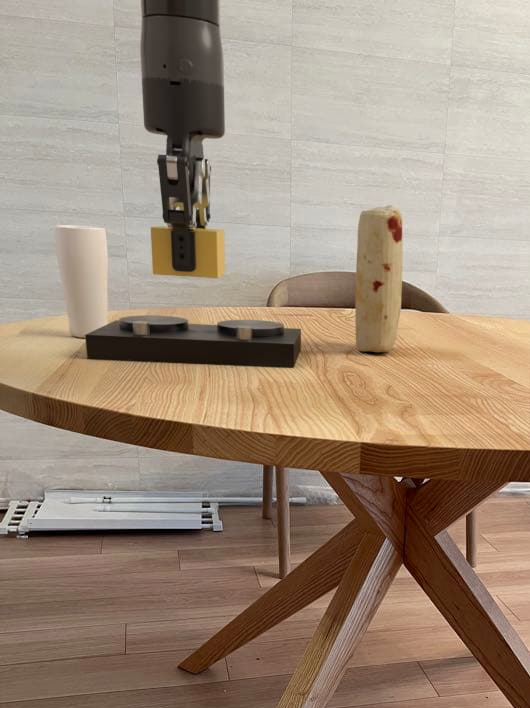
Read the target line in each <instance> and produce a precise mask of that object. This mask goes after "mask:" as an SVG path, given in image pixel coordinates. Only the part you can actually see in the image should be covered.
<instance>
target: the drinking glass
mask: <svg viewBox="0 0 530 708" xmlns="http://www.w3.org/2000/svg"><path fill="white" fill-rule="evenodd" d="M54 241H55V249H56V251H55V252H56V258H57V264H58V269H59V274H60V280H61V285H62V291H63V296H64V302H65V307H66V308H65V309H66V313H67V319H68V328H69V333H70V335H71V336H72V337H75V338H80V339H86V338H85V335H86V334H88V333H90V332H92V331H94V330H96V329H99V328H101V327H103V326H105V325H107V324H109V253H108V241H107V231H106V228H105V227H103V226H92V225H69V224H68V225H67V224H65V225H64V224H61V225H60V224H59V225H55V226H54Z"/></svg>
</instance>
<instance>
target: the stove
mask: <svg viewBox="0 0 530 708" xmlns="http://www.w3.org/2000/svg"><path fill="white" fill-rule="evenodd" d="M84 339H85V348H86V349H85V350H86V359H87V360H105V361H106V360H108V361H128V362H129V361H131V362H151V363H152V362H153V363H154V362H155V363H177V364H202V365H203V364H204V365H221V366H222V365H224V366H244V367H245V366H249V367H271V368H272V367H273V368H292V369H293V368H295V367H296V364H297V360H298V358H299V356H300V353H301V351H302V329H301V328H293V327H291V328H289V327H285V324H283V323H281V322H277V321H271V320H262V319H228V320H227V319H226V320H221V321H217V323H216V324H206V323H205V324H204V323H189V319H187V318H184V317H181V316H173V315H172V316H171V315H153V314H152V315H151V314H150V315H146V314H145V315H129V316H128V315H127V316H123V317H120V318H118V320H113V321H111V322H108V324H107V325H105V326H103V327H101V328H99V329H96V330H94V331H92V332H90V333H88V334H86V335H85V338H84Z"/></svg>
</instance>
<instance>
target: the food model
mask: <svg viewBox="0 0 530 708" xmlns="http://www.w3.org/2000/svg"><path fill="white" fill-rule="evenodd" d="M403 241H404V240H403V217H402V213H401V211H400V210H399V209H398V208H397V207H396V206H394V205H390V204H388V205H386V206H376V207H373V208H371V209H367V210H362V211H361V212H360V215H359V218H358V223H357V246H356V247H357V248H356V250H357V251H356V265H355V267H356V269H355V283H354V284H355V286H354V289H355V293H354V294H355V295H354V296H355V300H354V301H355V304H354V305H355V309H354V310H355V312H354V314H355V315H354V317H355V319H354V320H355V345H356V347H357V349H358V351H360V352H374V353H388V352H390V351H391V350H393V348H394V346H395V343H396V342H397V341H396V340H397V338H398V337H397V336H398V329H399V322H400V316H401V312H402V291H403V253H404V252H403V251H404V248H403V245H404V242H403Z"/></svg>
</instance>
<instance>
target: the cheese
mask: <svg viewBox="0 0 530 708" xmlns="http://www.w3.org/2000/svg"><path fill="white" fill-rule="evenodd" d="M171 231H173V230H170V229H169V228H168V225H158V226H150V242H151V243H150V245H151V246H150V247H151V265H152V266H151V267H152V275H159V276H174V277H189V278H190V277H191V278H207V279H219V278H221V277H223V276H224V275H226V245H225V244H226V242H225V239H226V238H225V229H219V228H218V229H215V228H206V229H202V228H195V231H191V232H195V245H196V269H195V270H194V271H192V272H184V271H175V270H174V269H173V267H172V247H171Z"/></svg>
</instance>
